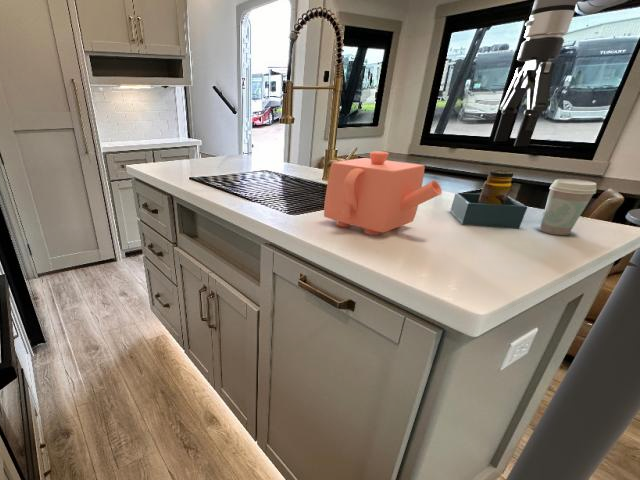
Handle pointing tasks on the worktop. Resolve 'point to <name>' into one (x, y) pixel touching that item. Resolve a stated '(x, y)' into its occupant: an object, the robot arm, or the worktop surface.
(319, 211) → the worktop surface
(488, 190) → the condiment
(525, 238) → the worktop surface
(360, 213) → the teapot
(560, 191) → the coffee cup
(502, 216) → the box
